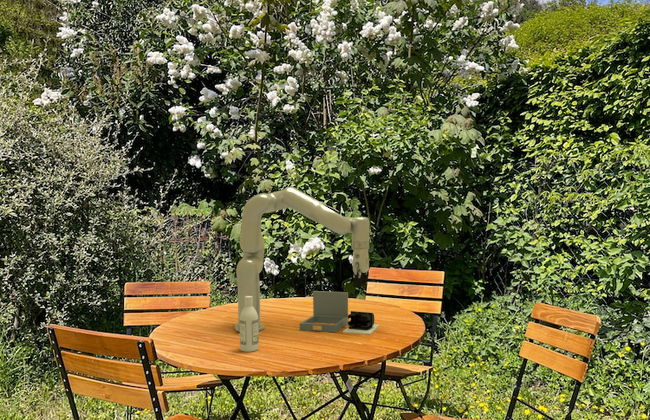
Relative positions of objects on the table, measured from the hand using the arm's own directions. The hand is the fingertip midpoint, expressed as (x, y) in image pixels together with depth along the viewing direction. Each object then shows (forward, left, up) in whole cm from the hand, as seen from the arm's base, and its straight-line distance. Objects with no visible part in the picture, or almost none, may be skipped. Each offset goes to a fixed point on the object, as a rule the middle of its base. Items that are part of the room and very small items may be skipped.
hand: (360, 285), depth 234 cm
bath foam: (-43, +32, -19) cm, 57 cm away
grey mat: (0, 0, -19) cm, 19 cm away
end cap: (0, 0, -19) cm, 19 cm away
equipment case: (0, +17, -19) cm, 25 cm away
